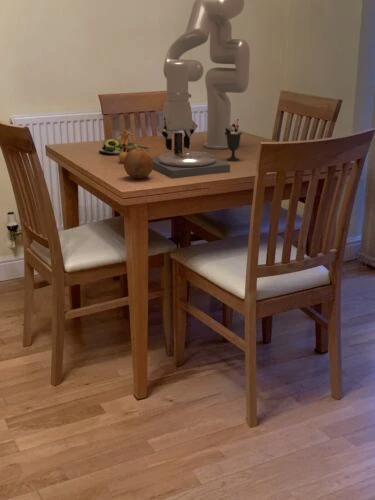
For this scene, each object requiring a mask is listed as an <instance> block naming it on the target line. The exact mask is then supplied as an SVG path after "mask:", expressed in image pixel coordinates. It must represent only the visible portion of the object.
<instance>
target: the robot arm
mask: <svg viewBox="0 0 375 500" xmlns="http://www.w3.org/2000/svg"><path fill="white" fill-rule="evenodd" d="M244 5H245V0H195V1H194V2H193V5H192V8H191V13H190V16H189V19H188V23H187V26H186V30H185V32H184V33H183V34H181V35H179V37H178V38H177V39H176V40H175V41H174V42H173V43H171V45H170V47H169V48H168V51H167V53H166V56H165V59H164V63H163V75H164V77H165V78H166V101H164V105H163V111H162V119H161V120H162V121H161V123H160V124H159V125H158V127H157V128H156V130H157V131H158V132H159V133H160V134H161V135H162V136H163V137H164V138H165V148H166V150H169V151H172V150H173V144H172V143H173V140H172V135H173V132H179V131H183V133H184V135H183V148H186V149H190V145H191V138H192V135H193V134H194V133H195V132H196V130H197V128H198V127H199V126H198V124H197V123H196V122H195V121H194V120H193V113H192V107H191V102H190V101H189V99H190V98H192V93H189V83H192V82H193V83H194V82H197V81H199V80H201V79H202V77H203V75H204V66H203V64H202V63H201V62H200V61H199V60H196V59H186V58H185V59H181V56H183V55H184V54H185V53H186V52H188V51H191V50H192V49H193V50H194V49H195V48H197V47H200V46H201V45H204V44H205V43H207V41H208V40H209V59H210V61H211V62H212V63H213V64H218V65H234V66H235V67H222V66H221V67H212V68H210V69H208V70H207V71H206V73H205V77H204V80H205V81H204V82H205V87H206V98H207V106H206V107H207V109H206V111H207V112H206V113H207V116H206V119H207V121H206V123H207V125H206V130H207V132H206V141H205V142H204V143H203V144H202V145H203V147H204V148H207V149H213V150H214V149H215V150H222V149H229V148H228V144H227V136H226V135H225V132H226V130H225V129H226V128H227V129H228V128H229V127H230V126H231V117H232V116H231V115H232V114H231V111H232V110H231V106H232V105H231V100H230V98H229V96H228V94H227V93H232V94H234V93H236V94H240V93H245V92H246V91H247V90H248V87H249V84H250V83H249V81H250V61H251V59H250V57H251V53H250V51H251V49H250V46H249V43H248V42H247V40H245V39H241V38H240V39H239V38H232V36H233V35H232V33H233V32H232V29H233V28H232V23H231V21H230V20H232V19H233V18H236V17H237V16H239V15H240V14H241V13H242V12H243V10H244V7H245V6H244ZM240 140H241V137H240Z"/></svg>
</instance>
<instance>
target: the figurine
mask: <svg viewBox="0 0 375 500" xmlns="http://www.w3.org/2000/svg"><path fill="white" fill-rule="evenodd" d="M119 136H122V139H121V142H120V144H121V147H122V152H121V153H120V154H119V155H118V161H119V162H121V163H123V164H124V159H125V156H126V154H127V148H128V147H127V145H128V142H130V141H129V139H128V137H129V136H130V137H132V138H133V143H134V144H136V143H137V142H136V138H135V136H134V134H132V133H131V132H129V131H128V130H127V129H123V130H122V131H121V132H120V133H118V134H117V135H116V137H114V139H115V140H118V137H119ZM115 140H114V142H115ZM124 143H125V144H126V151H125V152H123V150H124V148H123V144H124ZM136 145H137V144H136Z"/></svg>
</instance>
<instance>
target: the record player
mask: <svg viewBox="0 0 375 500" xmlns="http://www.w3.org/2000/svg"><path fill="white" fill-rule="evenodd" d="M158 158H159V162H160V163H162V164H165V165H169V166H178V167H197V166H205V165H210V164H213V163H215V162H216V159H217V156H216V154H213V153H212V152H211V153H210V152H207V151H198V150H197V151H196V150H185V151H184V150H183V132H179V131H177V132H174V133H173V151H170V152H166V153H165V152H164V153H162V154H160V155H159V156H158Z"/></svg>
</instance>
